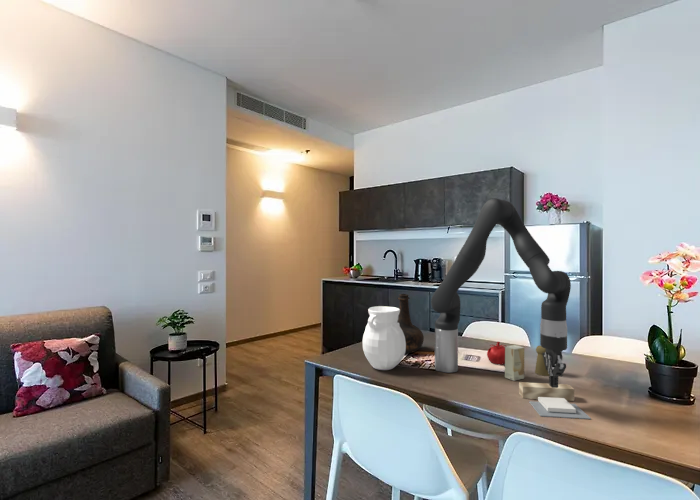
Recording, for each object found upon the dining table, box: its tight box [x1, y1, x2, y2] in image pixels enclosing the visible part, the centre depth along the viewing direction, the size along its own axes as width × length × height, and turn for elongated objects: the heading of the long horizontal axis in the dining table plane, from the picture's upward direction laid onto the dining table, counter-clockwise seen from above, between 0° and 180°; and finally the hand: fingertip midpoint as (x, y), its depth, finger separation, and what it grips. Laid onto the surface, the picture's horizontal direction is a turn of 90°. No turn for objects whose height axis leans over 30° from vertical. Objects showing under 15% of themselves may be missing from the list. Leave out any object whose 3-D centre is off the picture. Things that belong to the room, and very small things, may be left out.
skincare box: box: [504, 344, 525, 382], centre depth 139 cm, size 6×4×12 cm
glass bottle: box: [397, 293, 425, 354], centre depth 177 cm, size 18×18×28 cm
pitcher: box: [361, 305, 406, 371], centre depth 153 cm, size 19×18×25 cm
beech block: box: [518, 381, 575, 402], centre depth 121 cm, size 16×4×4 cm, turn 82°
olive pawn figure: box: [534, 345, 549, 377], centre depth 144 cm, size 6×6×11 cm
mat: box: [528, 400, 592, 420], centre depth 111 cm, size 14×10×1 cm
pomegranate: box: [486, 341, 508, 366], centre depth 158 cm, size 10×10×9 cm
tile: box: [537, 397, 576, 413], centre depth 113 cm, size 8×3×8 cm
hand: (553, 386), depth 115 cm, fingers closed
